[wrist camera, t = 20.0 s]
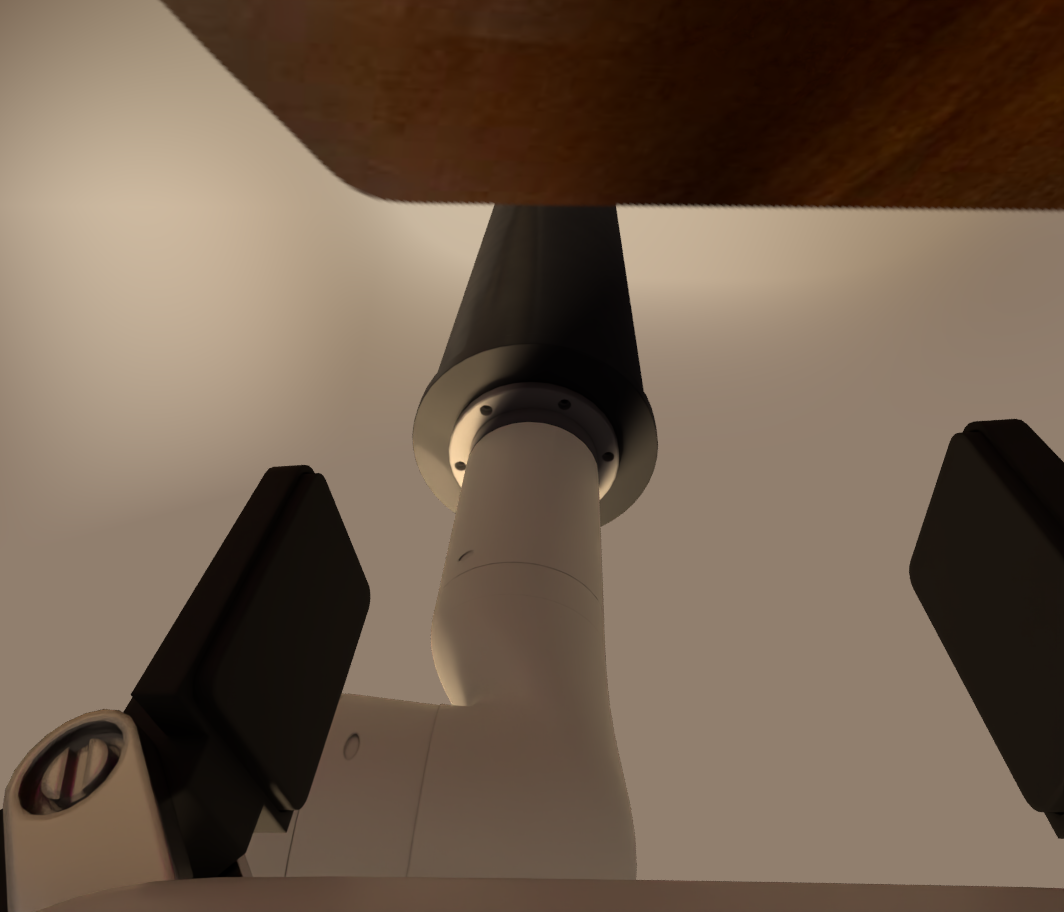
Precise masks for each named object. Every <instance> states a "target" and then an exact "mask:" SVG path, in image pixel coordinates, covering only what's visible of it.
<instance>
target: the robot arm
mask: <svg viewBox="0 0 1064 912" xmlns="http://www.w3.org/2000/svg"><path fill="white" fill-rule="evenodd" d="M563 399H565V400H563ZM486 405H487V406H486ZM449 460H450V465H451V468H452V472H453V475H454V477H455V478H456V480H457V482H458V484H459V485H460V487H461V493H460V497H459V502H458V506H457V511H456V515H455V520H454V524H453V529H452V533H451V539H450V542H449V547H448V552H447V556H446V561H445V565H444V570H443V574H442V579H441V583H440V588H439V592H438V597H437V601H436V606H435V610H434V615H433V620H432V627H431V649H432V655H433V660H434V664H435V668H436V671H437V673H438V676H439V679H440V681H441V684H442V686H443V688H444V690H445V692H446V694H447V696H448V698H449V700H450V702H451V704H452V705H445V704H440V705H433V704H426V703H418V702H411V701H403V700H395V699H387V698H379V697H371V696H363V695H355V694H342V690H343V687H344V684H345V681H346V677H347V674H348V671H349V668H350V665H351V662H352V659H353V656H354V653H355V649H356V646H357V643H358V640H359V637H360V634H361V631H362V628H363V625H364V622H365V619H366V615H367V612H368V609H369V604H370V589H369V585H368V582H367V580H366V578H365V575H364V572H363V570H362V567H361V565H360V563H359V560H358V558H357V555H356V553H355V550H354V548H353V545H352V543H351V541H350V538H349V536H348V533H347V531H346V528H345V526H344V523H343V521H342V519H341V516H340V514H339V511H338V509H337V507H336V504H335V501H334V499H333V497H332V494H331V492H330V490H329V487H328V484H327V482H326V480H325V478H324V476H323V475H322V474H320V473H314V471H313V469H312V468H311V467H309V466H307V465H297V466H281V467H272V468H269V469H268V471H267V472H266V473H265V474H264V476H263V478H262V479H261V481H260V483H259V484H258V486H257V488H256V489H255V491H254V493H253V494H252V496H251V498H250V499H249V501H248V502H247V504H246V506H245V507H244V509H243V511H242V512H241V514H240V515H239V517H238V519H237V520H236V522H235V524H234V525H233V527H232V529H231V530H230V532H229V534H228V535H227V537H226V539H225V540H224V542H223V543H222V545H221V547H220V549H219V550H218V552H217V554H216V555H215V557H214V558H213V560H212V562H211V563H210V565H209V567H208V568H207V570H206V571H205V573H204V575H203V576H202V578H201V580H200V582H199V583H198V585H197V586H196V588H195V590H194V591H193V593H192V595H191V596H190V598H189V600H188V601H187V603H186V605H185V606H184V608H183V609H182V611H181V613H180V614H179V616H178V618H177V619H176V621H175V623H174V624H173V626H172V628H171V629H170V631H169V633H168V634H167V636H166V637H165V639H164V641H163V642H162V644H161V646H160V647H159V649H158V651H157V652H156V654H155V655H154V657H153V659H152V661H151V662H150V664H149V666H148V667H147V669H146V670H145V672H144V674H143V675H142V677H141V679H140V680H139V682H138V683H137V685H136V687H135V688H134V690H133V692H132V693H131V696H132V699H131V701H130V702H129V704H128V706H127V707H126V709H125V710H124V712H121V711H119V710H108V709H103V710H98V711H94V712H89V713H85V714H83V715H81V716H78V717H76V718H74V719H72V720H69V721H67V722H65V723H64V724H62V725H61V726H60V727H58V728H56V729H55V730H53V731H52V732H50V733H49V734H47V735H46V736H45V737H44V738H43V739H42V740H41V741H40V742H39V743H38V744H36V745H35V746H34V747H33V748H32V749H31V750H30V751H29V752H28V753H27V755H26V756H25V757H24V759H23V760H22V761H21V762H20V764H19V765H18V766H17V768H16V769H15V770H14V773H13V774H12V776H11V779H10V781H9V783H8V785H7V787H6V790H5V796H4V802H3V809H1V810H0V912H1064V889H1061V888H1033V887H990V886H989V887H987V886H941V885H939V886H938V885H890V884H841V883H791V882H788V883H787V882H729V881H723V882H722V881H665V880H636V868H637V867H636V866H637V863H636V843H635V832H634V825H633V819H632V813H631V807H630V802H629V797H628V793H627V788H626V784H625V779H624V775H623V771H622V766H621V762H620V757H619V753H618V748H617V743H616V739H615V734H614V728H613V722H612V716H611V709H610V703H609V693H608V684H607V672H606V655H605V635H604V606H603V582H602V581H603V580H602V557H601V556H602V555H601V528H600V502H599V500H601V499H602V497H603V496H604V495H605V494H606V493H607V491H608V490H609V489H610V487H611V485H612V483H613V481H614V480H615V478H616V474H617V470H618V466H619V449H618V441H617V437H616V434H615V432H614V429H613V426H612V425H611V423H610V422H609V420H608V418H607V417H606V415H605V414H604V413H603V412H602V411H601V410H600V409H599V408H598V407H597V406H596V405H595V404H594V403H593V402H591V401H590V400H588V399H587V398H585V397H584V396H583V395H581V394H579V393H577V392H575V391H572V390H570V389H568V388H566V387H562V386H558V385H554V384H550V383H541V382H521V383H512V384H509V385H505V386H501V387H497V388H495V389H493V390H491V391H489V392H486V393H484V394H483V395H481V396H480V397H478V398H477V399H475V400H474V401H473V402H471V403H470V404H469V406H468V407H467V408H466V409H465V410H464V411H463V412H462V413H461V415H460V417H459V418H458V420H457V422H456V424H455V426H454V429H453V432H452V435H451V440H450V446H449ZM909 574H910V580H911V584H912V586H913V589H914V591H915V593H916V594H917V596H918V598H919V600H920V602H921V603H922V606H923V608H924V609H925V611H926V613H927V615H928V617H929V619H930V621H931V623H932V625H933V626H934V628H935V630H936V632H937V634H938V636H939V638H940V640H941V642H942V643H943V645H944V647H945V649H946V651H947V653H948V655H949V657H950V659H951V660H952V662H953V664H954V666H955V668H956V670H957V672H958V674H959V676H960V677H961V679H962V681H963V683H964V685H965V687H966V689H967V691H968V692H969V694H970V696H971V698H972V700H973V702H974V704H975V706H976V708H977V710H978V711H979V713H980V715H981V717H982V719H983V721H984V723H985V725H986V727H987V728H988V730H989V732H990V734H991V736H992V738H993V740H994V742H995V744H996V745H997V747H998V749H999V751H1000V753H1001V755H1002V757H1003V759H1004V761H1005V762H1006V764H1007V766H1008V768H1009V770H1010V772H1011V774H1012V775H1013V778H1014V779H1015V781H1016V783H1017V785H1018V787H1019V789H1020V791H1021V792H1022V795H1023V796H1024V798H1025V799H1026V801H1027V803H1028V804H1029V805H1030V806H1031V807H1032V808H1033V809H1035V810H1036V811H1038V812H1044V813H1045V815H1046V817H1047V818H1048V820H1049V822H1050V824H1051V826H1052V828H1053V829H1054V831H1055V833H1056V835H1057V836H1058V838H1061V839H1064V462H1063V461H1062V460H1061V459H1060V458H1059V457H1058V456H1057V455H1056V454H1055V453H1054V452H1053V451H1052V450H1051V449H1050V448H1049V447H1048V446H1047V445H1046V443H1045V442H1044V441H1043V440H1042V439H1041V438H1040V437H1039V436H1038V435H1037V434H1036V433H1035V432H1034V431H1033V430H1032V429H1031V428H1030V427H1029V426H1028V425H1027V424H1026V423H1024V422H1023V421H1022V420H1018V419H1007V420H992V421H976V422H972V423H969V424H968V425H967V426H966V427H965V429H964V431H963V433H957V434H955V435H954V436H953V437H952V438H951V441H950V443H949V446H948V449H947V452H946V455H945V458H944V461H943V464H942V467H941V470H940V473H939V476H938V479H937V483H936V485H935V488H934V492H933V495H932V498H931V501H930V504H929V507H928V510H927V513H926V516H925V519H924V522H923V525H922V528H921V531H920V534H919V537H918V540H917V543H916V547H915V550H914V552H913V555H912V558H911V561H910V566H909Z"/></svg>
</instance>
